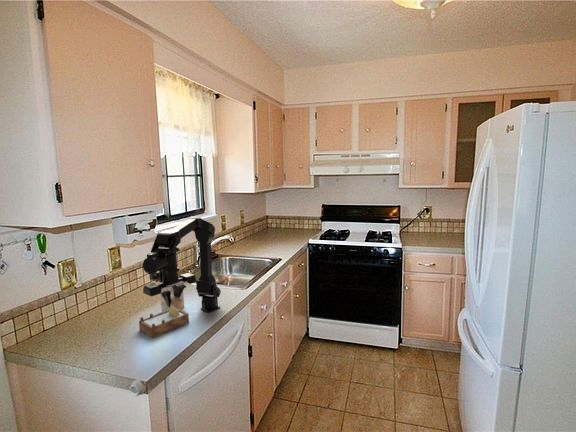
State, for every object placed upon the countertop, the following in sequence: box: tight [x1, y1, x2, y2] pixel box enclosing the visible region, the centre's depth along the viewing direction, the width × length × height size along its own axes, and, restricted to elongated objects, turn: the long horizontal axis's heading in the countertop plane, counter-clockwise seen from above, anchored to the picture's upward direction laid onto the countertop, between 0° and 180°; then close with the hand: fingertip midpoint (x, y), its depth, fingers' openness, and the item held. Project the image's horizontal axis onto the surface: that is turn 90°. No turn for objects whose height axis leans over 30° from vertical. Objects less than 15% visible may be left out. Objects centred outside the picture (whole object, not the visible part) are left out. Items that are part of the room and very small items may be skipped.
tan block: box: [160, 295, 184, 311], centre depth 124 cm, size 2×11×4 cm, turn 50°
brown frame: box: [138, 309, 190, 339], centre depth 134 cm, size 16×10×5 cm, turn 140°
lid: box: [143, 307, 183, 326], centre depth 133 cm, size 14×8×5 cm, turn 140°
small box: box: [159, 286, 185, 313], centre depth 149 cm, size 8×6×13 cm
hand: (172, 305), depth 124 cm, fingers closed on tan block, 2 cm apart
